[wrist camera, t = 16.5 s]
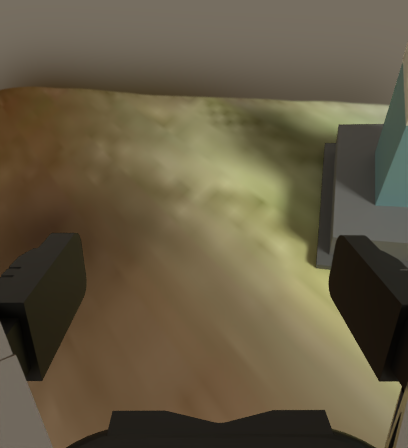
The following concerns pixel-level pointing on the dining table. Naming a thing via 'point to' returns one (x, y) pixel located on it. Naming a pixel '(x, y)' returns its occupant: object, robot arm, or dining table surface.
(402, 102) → the carton
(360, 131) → the podium
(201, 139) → the dining table surface
